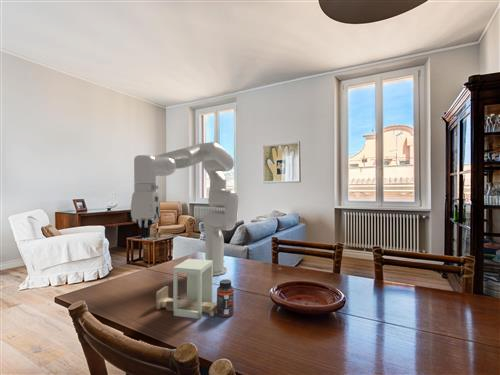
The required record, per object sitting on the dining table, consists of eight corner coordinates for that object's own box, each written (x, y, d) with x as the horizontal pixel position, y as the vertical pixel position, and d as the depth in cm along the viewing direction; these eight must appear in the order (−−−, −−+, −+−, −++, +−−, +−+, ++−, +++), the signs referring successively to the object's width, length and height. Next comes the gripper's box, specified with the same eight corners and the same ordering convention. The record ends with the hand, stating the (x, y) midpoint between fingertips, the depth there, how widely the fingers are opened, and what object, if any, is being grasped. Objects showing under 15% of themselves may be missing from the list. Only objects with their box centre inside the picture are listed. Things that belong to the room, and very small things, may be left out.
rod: (155, 309, 94) (155, 292, 94) (166, 301, 101) (166, 285, 101) (212, 316, 89) (212, 298, 89) (219, 307, 96) (219, 290, 96)
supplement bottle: (231, 318, 88) (231, 285, 88) (214, 316, 89) (214, 283, 89) (236, 310, 94) (236, 278, 94) (220, 308, 95) (220, 277, 95)
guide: (173, 303, 99) (173, 295, 99) (180, 304, 98) (180, 296, 98) (166, 310, 94) (166, 301, 94) (173, 311, 93) (173, 302, 93)
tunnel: (188, 301, 101) (188, 258, 101) (212, 304, 98) (212, 260, 98) (173, 315, 90) (173, 267, 90) (200, 318, 88) (200, 269, 88)
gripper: (168, 188, 100) (168, 236, 100) (134, 188, 104) (134, 234, 104) (156, 188, 93) (156, 240, 93) (121, 188, 97) (121, 238, 97)
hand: (145, 237), depth 99 cm, fingers closed
